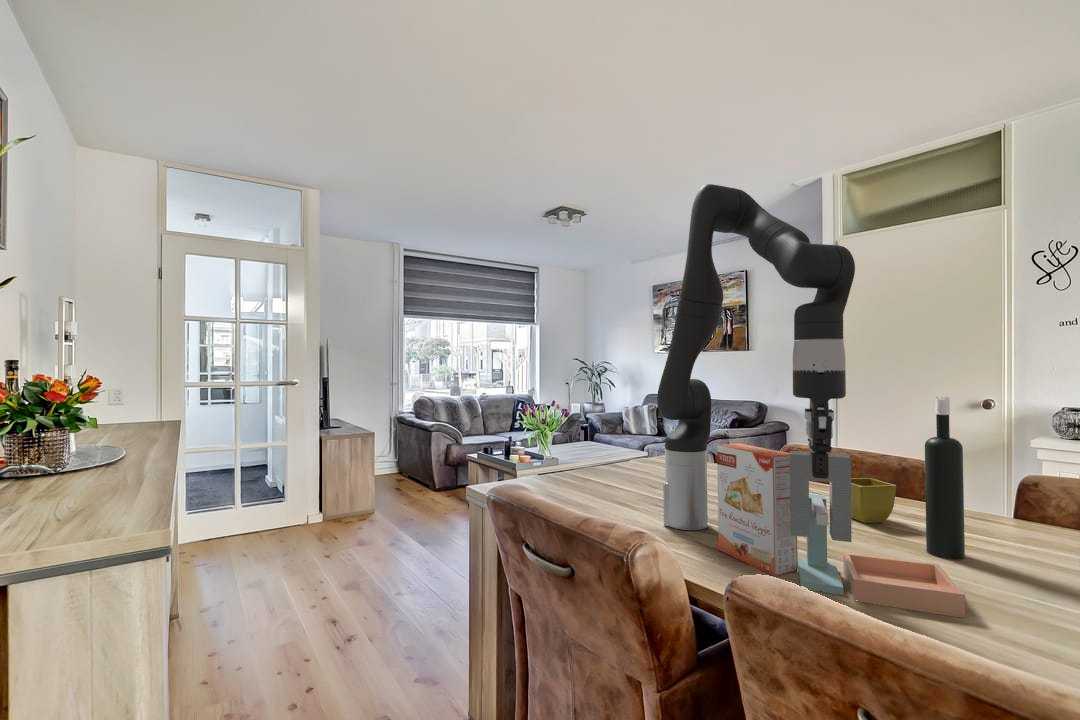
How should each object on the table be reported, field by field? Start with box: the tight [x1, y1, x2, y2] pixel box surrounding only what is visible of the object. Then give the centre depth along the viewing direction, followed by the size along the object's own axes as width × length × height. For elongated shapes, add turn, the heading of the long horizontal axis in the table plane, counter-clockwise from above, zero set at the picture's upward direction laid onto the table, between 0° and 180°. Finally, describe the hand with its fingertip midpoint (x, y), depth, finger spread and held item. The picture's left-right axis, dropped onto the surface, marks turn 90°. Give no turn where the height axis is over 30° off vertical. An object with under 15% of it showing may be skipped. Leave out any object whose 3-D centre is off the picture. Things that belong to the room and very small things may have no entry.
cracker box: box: [716, 442, 799, 577], centre depth 96 cm, size 14×6×21 cm, turn 22°
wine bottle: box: [924, 396, 966, 561], centre depth 99 cm, size 6×6×30 cm
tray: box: [842, 552, 966, 619], centre depth 82 cm, size 14×13×3 cm
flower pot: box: [851, 477, 897, 524], centre depth 121 cm, size 9×9×9 cm
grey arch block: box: [789, 450, 852, 543], centre depth 83 cm, size 8×4×13 cm, turn 66°
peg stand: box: [797, 493, 845, 596], centre depth 86 cm, size 6×14×13 cm, turn 156°
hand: (819, 474), depth 83 cm, fingers closed on grey arch block, 3 cm apart
